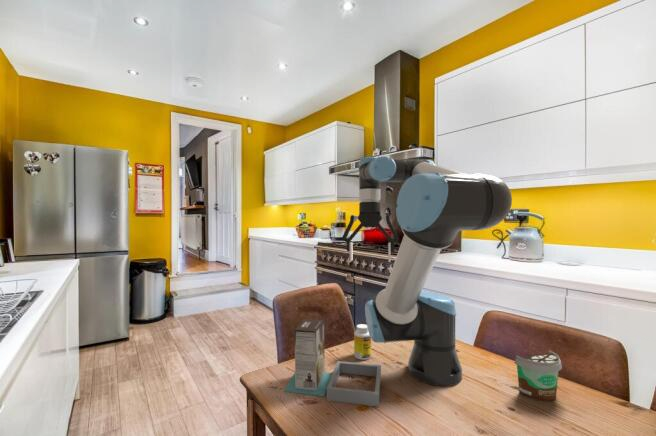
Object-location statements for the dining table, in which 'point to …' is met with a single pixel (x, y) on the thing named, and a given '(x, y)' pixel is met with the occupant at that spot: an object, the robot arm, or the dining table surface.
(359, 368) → the square frame
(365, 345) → the supplement bottle
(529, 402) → the dining table surface
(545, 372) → the food container
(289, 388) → the mat
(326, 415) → the dining table surface
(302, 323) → the coffee box
